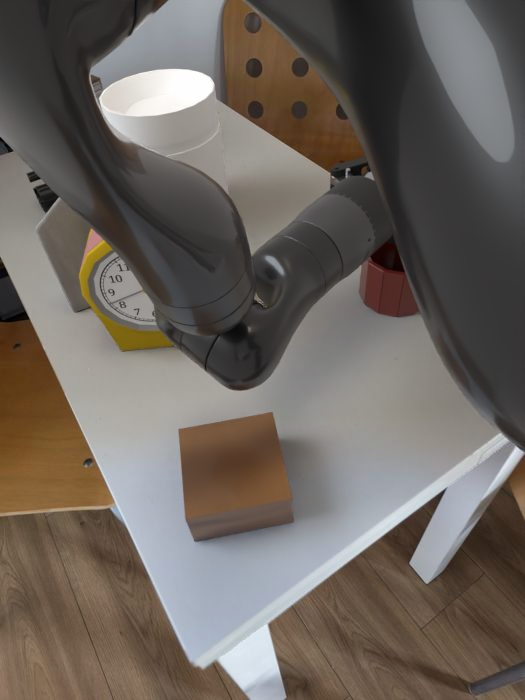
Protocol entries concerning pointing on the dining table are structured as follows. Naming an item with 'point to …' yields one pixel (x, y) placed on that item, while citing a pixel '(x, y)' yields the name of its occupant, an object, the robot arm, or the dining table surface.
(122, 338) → the alarm clock
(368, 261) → the pot
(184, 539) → the dining table surface
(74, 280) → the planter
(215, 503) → the brown wooden block
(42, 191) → the end cap
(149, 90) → the canister
